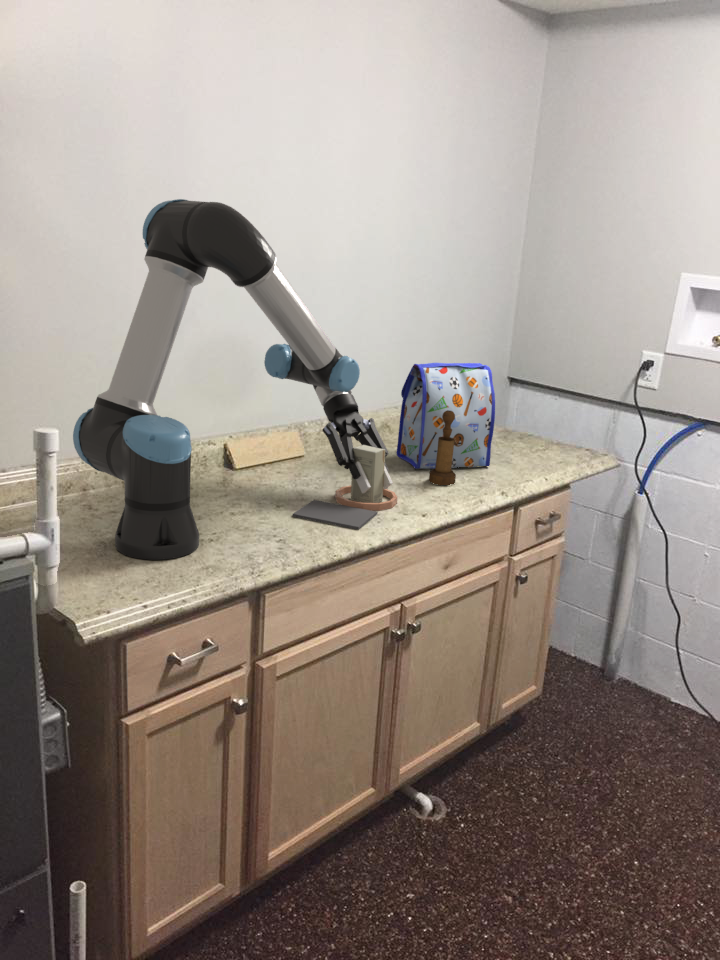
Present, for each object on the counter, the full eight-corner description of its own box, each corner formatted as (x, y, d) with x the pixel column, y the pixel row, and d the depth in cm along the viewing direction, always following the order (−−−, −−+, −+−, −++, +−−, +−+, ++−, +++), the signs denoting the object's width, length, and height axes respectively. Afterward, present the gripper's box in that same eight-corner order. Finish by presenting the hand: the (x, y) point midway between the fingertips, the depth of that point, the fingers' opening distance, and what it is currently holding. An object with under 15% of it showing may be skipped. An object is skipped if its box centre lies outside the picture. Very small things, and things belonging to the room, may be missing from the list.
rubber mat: (358, 529, 171) (359, 527, 171) (292, 516, 176) (292, 513, 176) (377, 514, 181) (377, 511, 181) (313, 502, 186) (314, 499, 186)
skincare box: (383, 501, 190) (387, 449, 186) (372, 505, 186) (376, 452, 183) (359, 495, 193) (363, 443, 189) (348, 499, 189) (352, 446, 186)
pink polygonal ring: (384, 514, 181) (384, 508, 181) (326, 503, 186) (326, 496, 185) (403, 497, 193) (404, 491, 193) (349, 487, 198) (349, 481, 197)
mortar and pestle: (453, 487, 204) (461, 415, 199) (427, 484, 205) (434, 412, 200) (456, 480, 210) (463, 409, 205) (430, 476, 211) (437, 406, 206)
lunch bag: (462, 451, 237) (473, 357, 229) (494, 468, 223) (506, 368, 215) (390, 455, 228) (398, 357, 220) (418, 473, 214) (428, 368, 206)
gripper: (361, 406, 201) (400, 490, 194) (296, 412, 190) (336, 502, 183) (376, 388, 196) (417, 474, 189) (311, 394, 184) (352, 485, 177)
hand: (377, 488), depth 186 cm, fingers closed on skincare box, 6 cm apart
